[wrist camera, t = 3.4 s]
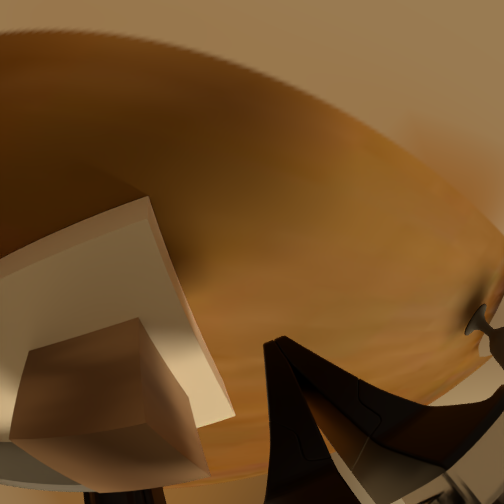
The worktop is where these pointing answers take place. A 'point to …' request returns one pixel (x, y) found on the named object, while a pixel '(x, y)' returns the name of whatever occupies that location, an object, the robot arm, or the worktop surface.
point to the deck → (103, 303)
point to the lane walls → (32, 472)
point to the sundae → (500, 339)
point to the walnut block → (107, 413)
